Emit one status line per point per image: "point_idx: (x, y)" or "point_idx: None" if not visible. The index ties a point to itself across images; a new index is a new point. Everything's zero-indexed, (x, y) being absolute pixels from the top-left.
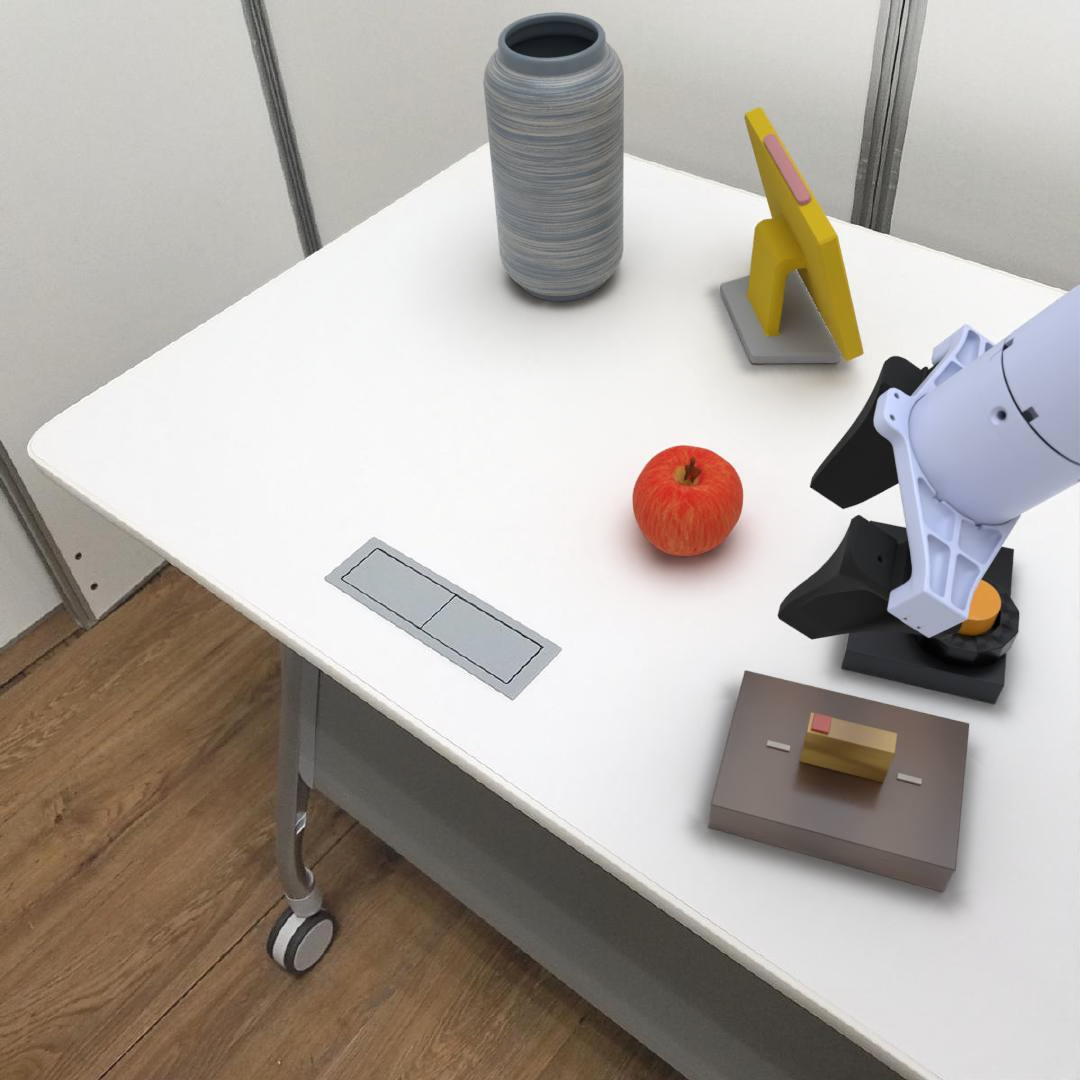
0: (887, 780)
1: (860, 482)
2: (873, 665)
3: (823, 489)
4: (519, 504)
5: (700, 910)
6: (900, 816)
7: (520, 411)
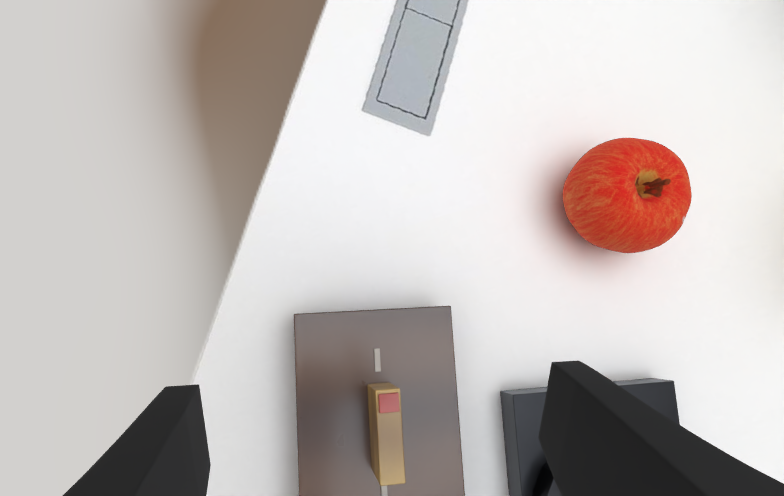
0: None
1: (588, 485)
2: (509, 423)
3: (555, 394)
4: (570, 49)
5: (213, 331)
6: (340, 494)
7: (676, 16)
